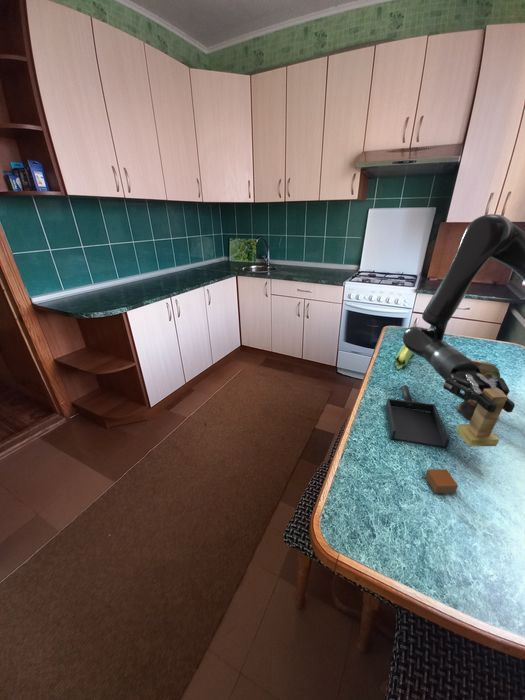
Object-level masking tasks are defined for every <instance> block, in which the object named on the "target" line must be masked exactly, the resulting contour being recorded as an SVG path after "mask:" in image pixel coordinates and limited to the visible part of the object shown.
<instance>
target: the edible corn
mask: <svg viewBox="0 0 525 700" xmlns="http://www.w3.org/2000/svg"><path fill="white" fill-rule="evenodd" d="M414 354H415V353H413V352H412V351H410V350H409V349H408V348H407V347H406V346H405V345H404V344H402V346H401V347H400V349H399V350H398V352H397V355H396V357H395V359H394V361H395V362H394V366H396V369H397V370H400V369H402V368H403V367H406V366H407V365H408V363H409V361H410V360H411V358H412V356H413V355H414Z"/></svg>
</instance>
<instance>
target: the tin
mask: <svg viewBox="0 0 525 700" xmlns="http://www.w3.org/2000/svg"><path fill="white" fill-rule="evenodd" d="M469 359H470V360H471V361H473V362H474V363H475V364H477V366H478V367H479V369H480V372H481V374H483V375H486V376H487V377H489V379H494V380H497V378H498V377H500V378H501V373H500V369H499V368H498V367H497V366H496V365H495V364H493V363H491V362H488V361H485V360H484V361H483V360H478V359H474V358H469Z"/></svg>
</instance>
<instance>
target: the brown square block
mask: <svg viewBox="0 0 525 700" xmlns="http://www.w3.org/2000/svg"><path fill="white" fill-rule="evenodd" d="M424 477H425V479H426V482H428V484H429V486H430V487H431V489H432V491H433V492H434V494H456V493H457V490H458V487H459V485H458V483H457V482H456V480H455V479H454V477H453V476H452V475H451V473H450V472H449V471H448V469H447V468H446V469H445V468H439V469H438V468H435V469H434V468H432V469H431V468H430V469H427V470H426V472H425V476H424Z"/></svg>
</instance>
